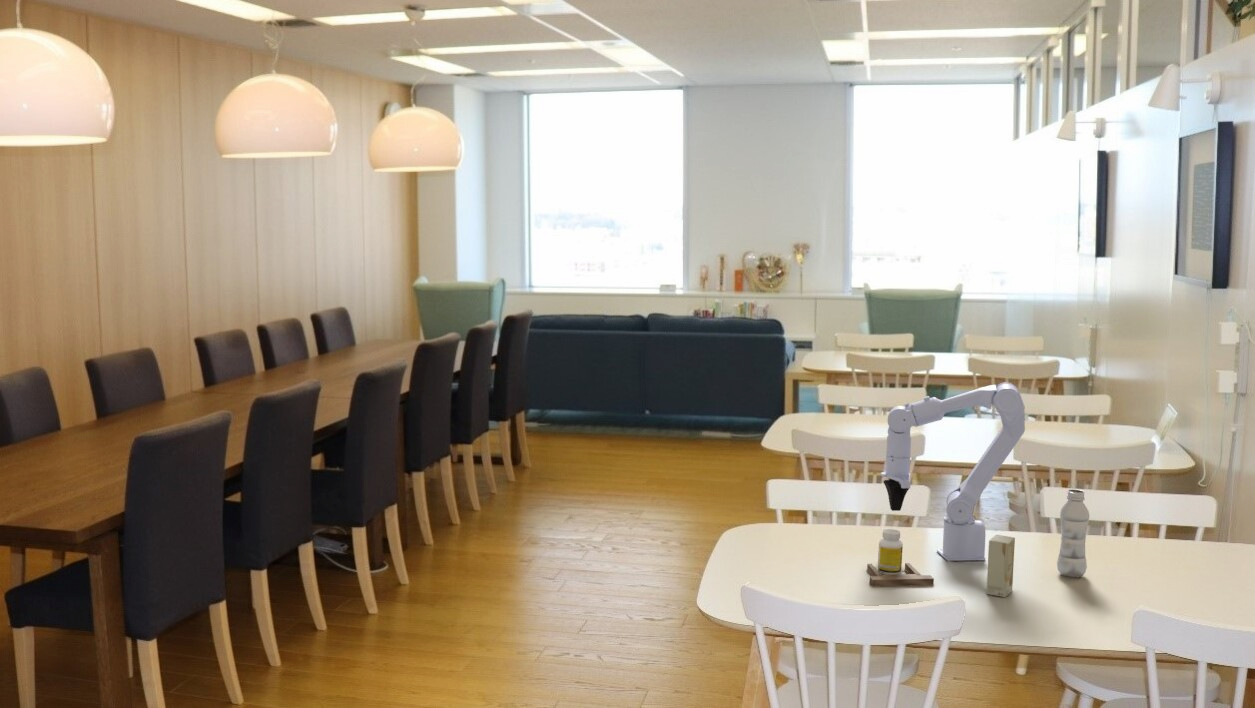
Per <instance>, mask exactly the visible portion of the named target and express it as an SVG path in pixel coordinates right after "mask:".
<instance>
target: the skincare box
mask: <svg viewBox="0 0 1255 708" xmlns="http://www.w3.org/2000/svg"><path fill="white" fill-rule="evenodd" d="M1015 540H1016V537H1014V536H1013V537H1012V536H1008V535H1000V534H996V535H994V536H992V537H991V539H989V540H988V553H987V555H988V557H987V574H986V575H987V576H986V577H987V578H986V592H985V593H986V594H987V595H991V596H996V597H1001V598H1007V596H1008V595H1010V594H1011V592H1012V591H1013V583H1014V561H1015V547H1016V546H1015V543H1016V541H1015Z"/></svg>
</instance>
